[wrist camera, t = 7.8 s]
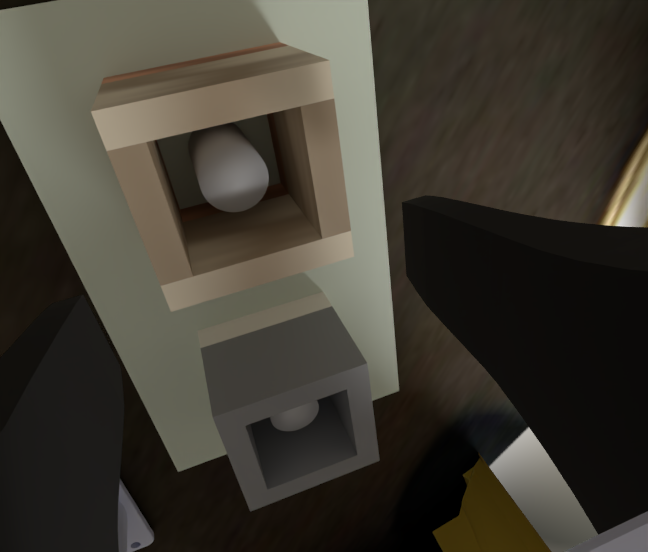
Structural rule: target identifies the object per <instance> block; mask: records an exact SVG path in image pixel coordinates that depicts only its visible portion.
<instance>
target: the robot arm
mask: <svg viewBox="0 0 648 552" xmlns="http://www.w3.org/2000/svg"><path fill="white" fill-rule="evenodd" d="M402 210H403V226H404V242H405V258H406V274H407V277H408V278H409V280H410V281H411V283H412V284H413V286H414V288H415V289H416V291H417V292H418V294H419V295H420V296H421V298H422V299H423V301H424V302H425V304H426V305H427V306H428V307H429V308H430V310H431V311H432V312H433V313H434V314H435V315H436V316H437V317H438V318H439V320H440V321H441V322H442V323H443V324H444V325H445V326H446V327H447V328H448V329H449V330H450V331H451V333H452V334H453V335H454V336H455V337H456V338H457V339H458V340H459V341H460V342H461V343H462V344H463V345H464V346H465V348H466V349H467V350H468V351H469V352H470V353H471V354H472V355H473V356H474V357H475V358H476V359H477V360H478V361H479V363H480V364H481V365H482V366H483V367H484V368H485V369H486V370H487V372H488V373H489V374H490V375H491V376H492V377H493V379H494V380H495V381H496V382H497V384H498V385H499V386H500V388H501V389H502V390H503V392H504V393H505V394H506V396H507V397H508V398H509V400H510V401H511V402H512V404H513V405H514V406H515V408H516V409H517V411H518V412H519V413H520V415H521V416H522V417H523V419H524V420H525V422H526V423H527V425H528V426H529V428H530V429H531V430H532V432H533V433H534V435H535V436H536V437H537V439H538V440H539V442H540V443H541V445H542V446H543V448H544V449H545V450H546V452H547V453H548V455H549V457H550V458H551V460H552V461H553V463H554V464H555V466H556V467H557V469H558V470H559V472H560V474H561V475H562V477H563V478H564V480H565V481H566V483H567V484H568V486H569V487H570V489H571V490H572V492H573V493H574V495H575V497H576V498H577V500H578V501H579V503H580V505H581V506H582V508H583V510H584V511H585V513H586V515H587V516H588V518H589V520H590V521H591V523H592V525H593V526H594V528H595V530H596V531H597V533H598V535H597V536H595V537H593V538H591V539H589V540H587V541H584V542H582V543H580V544H578V545H576V546H574V547H572V548H570V549H568V550H566V551H563V552H648V228H644V227H620V226H605V225H595V224H585V223H575V222H567V221H560V220H553V219H547V218H541V217H535V216H529V215H524V214H519V213H514V212H509V211H504V210H499V209H494V208H490V207H485V206H481V205H476V204H472V203H467V202H463V201H458V200H453V199H448V198H443V197H436V196H422V197H419V198H415V199H412V200H408V201H405V202H402ZM123 425H124V395H123V384H122V374H121V367H120V365H119V363H118V361H117V359H116V357H115V355H114V353H113V351H112V349H111V347H110V345H109V343H108V342H107V340H106V338H105V336H104V334H103V332H102V330H101V328H100V326H99V324H98V322H97V320H96V318H95V316H94V314H93V312H92V311H91V309H90V307H89V305H88V303H87V301H86V299H85V297H84V295H80V296H76V297H73V298H69V299H66V300H62V301H59V302H55V303H52V304H51V305H50V306H49V307H47V308H46V309H45V310H44V311H43V312H42V313H41V314H40V315H39V316H38V317H37V318H36V319H35V320H34V322H33V323H32V324H31V325H30V326H29V327H28V328H27V329H26V330H25V331H24V332H23V333H22V335H21V336H20V337H19V338H18V339H17V340H16V341H15V342H14V343H13V344H12V345H11V347H10V348H9V349H8V350H7V351H6V352H5V353H4V354H3V355H2V356H1V357H0V552H133V551H136V550H138V549H141V548H143V547H146V546H148V545H150V544H151V543H152V542H153V541H154V532H153V531H152V529H151V528H150V526H149V524H148V523H147V521H146V519H145V518H144V516H143V515H142V513H141V511H140V510H139V508H138V507H137V505H136V503H135V502H134V500H133V499H132V497H131V495H130V494H129V492H128V491H127V489H126V487H125V486H124V484H123V482H122V481H121V479H120V470H121V456H122V441H123Z"/></svg>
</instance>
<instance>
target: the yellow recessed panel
mask: <svg viewBox="0 0 648 552" xmlns="http://www.w3.org/2000/svg"><path fill="white" fill-rule="evenodd" d="M478 454H479V453H478ZM479 457H480V458H479V460H478V461H477V463H476V464H475V466H474V467H473V468H471V469H470V470H469V471H467V472H466V473H465V474H463V477H464V479H465V482H466V484H467V489H466V491H465V494H464V496H463V497H462V499H461V500H460V501H459V503H458V504H457V506H456V507H455V509H454V510H453V511H452V513H451V514H450V516H449V518H448V519H447V520H446V522H445V523H444V525H443V526H441V527H439V528H438V529H436V530H434V531H433V532H432V533H433V534H434V536H435V538H434V540H433V541H432V542H431V544H430V545H429V547H428V548H427V549H426V551H425V552H551V551H550V549H549V548H548V547H547V545H546V544H545V543H544V541H543V540H542V539H541V537H540V536H539V534H538V533H537V532H536V530H535V529H534V528H533V526H532V525H531V524H530V522H529V521H528V520H527V518H526V517H525V515H524V514H523V513H522V511H521V510H520V509H519V507H518V506H517V505H516V503H515V502H514V500H513V499H512V498H511V496H510V495H509V494H508V492H507V491H506V490H505V488H504V487H503V486H502V484H501V483H500V482H499V480H498V479H497V478H496V476H495V475H494V473H493V472H492V471H491V469H490V468H489V467H488V465H487V464H486V462H485V461H484V460H483V458H482V457H481V456H480V454H479Z"/></svg>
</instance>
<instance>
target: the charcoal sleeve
mask: <svg viewBox="0 0 648 552" xmlns="http://www.w3.org/2000/svg"><path fill="white" fill-rule="evenodd" d="M197 332H198V337H199V343H200V349H201V354H202V360H203V366H204V371H205V377H206V383H207V388H208V394H209V400H210V405H211V411H212V417H213V420H214V422H215V425H216V427H217V430H218V432H219V435H220V437H221V440H222V442H223V445H224V447H225V450H226V452H227V455H228V457H229V460H230V462H231V465H232V467H233V470H234V472H235V475H236V477H237V480H238V482H239V485H240V487H241V490H242V492H243V495H244V497H245V500H246V502H247V505H248V507H249V510H250V512H251V511H253V510H256V509H258V508H261V507H264V506H266V505H269V504H271V503H274V502H276V501H279V500H281V499H284V498H286V497H289V496H291V495H294V494H296V493H299V492H302V491H304V490H307V489H309V488H312V487H314V486H317V485H319V484H322V483H324V482H327V481H329V480H332V479H335V478H337V477H340V476H342V475H345V474H347V473H350V472H352V471H355V470H357V469H360V468H362V467H365V466H367V465H370V464H373V463H375V462H378V461H380V458H379V451H378V443H377V435H376V427H375V419H374V411H373V403H372V395H371V388H370V380H369V372H368V364H367V362H366V360H365V359H364V357H363V355H362V354H361V352H360V350H359V349H358V347H357V346H356V344H355V342H354V341H353V339H352V337H351V336H350V334H349V333H348V331H347V329H346V328H345V326H344V324H343V323H342V321H341V320H340V318H339V316H338V315H337V313H336V312H335V310H334V308H333V307H332V305H331V303H330V302H329V300H328V299H327V297H326V295H325V294H324V292H320V293H317V294H314V295H311V296H307V297H304V298H301V299H298V300H295V301H291V302H288V303H285V304H282V305H279V306H275V307H272V308H269V309H266V310H263V311H259V312H256V313H253V314H250V315H247V316H243V317H240V318H237V319H234V320H231V321H227V322H224V323H221V324H218V325H215V326H211V327H208V328H205V329H202V330H199V331H197ZM316 400H317V402H318V405H319V410H318V413H317V415H316V417H315V418H314V420H313V421H312V422H311V423H309V424H308V425H307V426H305V427H303V428H301V429H298V430H295V431H281V430H279V429H277V428H275V427H274V426H273V424H272V422H271V419H270V417H271V416H274V415H277V414H279V413H282V412H285V411H288V410H291V409H293V408H296V407H299V406H302V405H305V404H307V403H310V402H313V401H316Z"/></svg>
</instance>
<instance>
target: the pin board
mask: <svg viewBox="0 0 648 552" xmlns="http://www.w3.org/2000/svg"><path fill="white" fill-rule="evenodd" d="M278 42H281V43H284V44H286V45H289V46H292V47H295V48H297V49H300V50H303V51H306V52H308V53H311V54H314V55H317V56H319V57H322V58H325V59H328V60H329V61H330V69H331V76H332V84H333V92H334V100H335V108H336V116H337V124H338V132H339V140H340V148H341V155H342V163H343V171H344V179H345V187H346V195H347V203H348V211H349V219H350V227H351V234H352V242H353V250H354V257H351V258H348V259H345V260H341V261H338V262H335V263H332V264H328V265H325V266H322V267H318V268H315V269H312V270H308V271H305V272H302V273H298V274H295V275H292V276H288V277H285V278H282V279H279V280H275V281H272V282H269V283H265V284H262V285H259V286H255V287H252V288H249V289H245V290H242V291H239V292H236V293H232V294H229V295H226V296H222V297H219V298H216V299H212V300H209V301H206V302H202V303H199V304H196V305H193V306H189V307H186V308H183V309H179V310H176V311H173V312H171V311H170V308H169V306H168V303H167V301H166V298H165V296H164V293H163V291H162V288H161V286H160V283H159V281H158V278H157V276H156V273H155V271H154V268H153V266H152V263H151V261H150V258H149V256H148V253H147V251H146V248H145V246H144V243H143V241H142V238H141V236H140V233H139V231H138V228H137V226H136V223H135V221H134V218H133V216H132V213H131V211H130V208H129V206H128V203H127V201H126V198H125V196H124V193H123V191H122V188H121V186H120V183H119V181H118V178H117V176H116V173H115V171H114V168H113V166H112V163H111V161H110V158H109V156H108V153H107V151H106V148H105V146H104V143H103V141H102V138H101V136H100V133H99V131H98V128H97V126H96V123H95V121H94V118H93V116H92V113H91V110H92V107H93V104H94V102H95V99H96V97H97V94H98V91H99V89H100V86H101V84H102V81H103V78H105V77H110V76H115V75H120V74H125V73H130V72H135V71H140V70H145V69H150V68H155V67H159V66H164V65H169V64H174V63H179V62H184V61H189V60H194V59H199V58H204V57H209V56H214V55H219V54H223V53H228V52H233V51H238V50H243V49H248V48H253V47H258V46H263V45H268V44H273V43H278ZM0 120H1V122H2V124H3V126H4V128H5V130H6V132H7V134H8V136H9V138H10V140H11V142H12V144H13V146H14V148H15V150H16V152H17V154H18V156H19V158H20V160H21V162H22V164H23V166H24V168H25V170H26V172H27V174H28V176H29V178H30V180H31V182H32V184H33V186H34V188H35V190H36V192H37V194H38V196H39V198H40V200H41V202H42V203H43V205H44V207H45V209H46V211H47V213H48V215H49V217H50V219H51V221H52V223H53V225H54V227H55V229H56V231H57V233H58V235H59V237H60V239H61V241H62V243H63V245H64V247H65V249H66V251H67V253H68V255H69V257H70V259H71V261H72V263H73V265H74V267H75V269H76V271H77V273H78V275H79V277H80V279H81V281H82V283H83V285H84V287H85V289H86V291H87V293H88V295H89V296H90V298H91V300H92V302H93V304H94V306H95V308H96V310H97V312H98V314H99V316H100V318H101V320H102V322H103V324H104V326H105V328H106V330H107V332H108V334H109V336H110V338H111V340H112V342H113V344H114V346H115V348H116V350H117V352H118V354H119V356H120V358H121V360H122V362H123V364H124V366H125V368H126V370H127V372H128V374H129V376H130V378H131V380H132V382H133V384H134V386H135V388H136V389H137V391H138V393H139V395H140V397H141V399H142V401H143V403H144V405H145V407H146V409H147V411H148V413H149V415H150V417H151V419H152V421H153V423H154V425H155V427H156V429H157V431H158V433H159V435H160V437H161V439H162V441H163V443H164V445H165V447H166V449H167V451H168V453H169V455H170V457H171V459H172V461H173V463H174V465H175V467H176V469H177V471H178V472H179V471H182V470H185V469H188V468H190V467H193V466H196V465H199V464H201V463H204V462H207V461H209V460H212V459H215V458H218V457H220V456H223V455H226V454H227V452H226V450H225V447H224V445H223V442H222V440H221V437H220V435H219V432H218V430H217V427H216V425H215V422H214V420H213V417H212V411H211V405H210V400H209V394H208V388H207V383H206V377H205V371H204V366H203V360H202V354H201V349H200V343H199V337H198V332H197V331H199V330H202V329H205V328H208V327H211V326H215V325H218V324H221V323H224V322H227V321H231V320H234V319H237V318H240V317H243V316H247V315H250V314H253V313H256V312H259V311H263V310H266V309H269V308H272V307H275V306H279V305H282V304H285V303H288V302H291V301H295V300H298V299H301V298H304V297H307V296H311V295H314V294H317V293H320V292H324V294H325V295H326V297H327V299H328V300H329V302H330V303H331V305H332V307H333V308H334V310H335V312H336V313H337V315H338V316H339V318H340V320H341V321H342V323H343V324H344V326H345V328H346V329H347V331H348V333H349V334H350V336H351V337H352V339H353V341H354V342H355V344H356V346H357V347H358V349H359V350H360V352H361V354H362V355H363V357H364V359H365V360H366V362H367V364H368V372H369V380H370V388H371V395H372V401H373V400H376V399H378V398H381V397H384V396H387V395H389V394H392V393H395V392H397V391H399V382H398V369H397V357H396V345H395V332H394V320H393V308H392V295H391V283H390V271H389V258H388V246H387V234H386V221H385V209H384V197H383V184H382V172H381V160H380V147H379V135H378V123H377V110H376V98H375V86H374V73H373V61H372V49H371V36H370V24H369V12H368V0H57V1H51V2H45V3H39V4H33V5H28V6H22V7H16V8H10V9H4V10H0ZM157 142H158V145H159V148H160V151H161V154H162V157H163V160H164V163H165V166H166V169H167V172H168V175H169V178H170V181H171V184H172V187H173V190H174V193H175V196H176V199H177V202H178V205H179V208H180V209H184V208H188V207H191V206H195V205H199V204H203V203H207V202H209V203H210V204H211V205H212V206H214V207H216V208H217V209H220V210H222V211H226V212H241V211H245V210H247V209H249V208H251V207H253V206H255V205H256V204H257V203H258V202H259V201H260V200H261V199H262V197H263V196H264V194H265V192H266V190H267V187H268V186H271V185H275V184H279V183H281V182H280V177H279V172H278V167H277V162H276V157H275V152H274V148H273V143H272V138H271V133H270V128H269V123H268V118H267V114H265V115H261V116H256V117H252V118H248V119H243V120H239V121H235V122H230V123H226V124H222V125H218V126H213V127H209V128H205V129H200V130H196V131H192V132H187V133H183V134H179V135H174V136H170V137H166V138H161V139H157ZM318 410H319V405H318V402H317V400H316V401H313V402H310V403H307V404H305V405H302V406H299V407H296V408H293V409H291V410H288V411H285V412H282V413H279V414H277V415H274V416H271V417H270V419H271V422H272V424H273V426H274V427H275V428H277V429H279V430H281V431H295V430H298V429H301V428H303V427H305V426H307V425H308V424H309V423H311V422H312V421H313V420H314V418H315V417H316V415H317V413H318Z"/></svg>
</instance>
